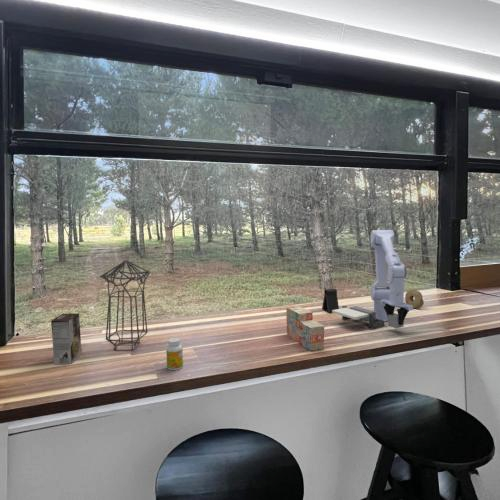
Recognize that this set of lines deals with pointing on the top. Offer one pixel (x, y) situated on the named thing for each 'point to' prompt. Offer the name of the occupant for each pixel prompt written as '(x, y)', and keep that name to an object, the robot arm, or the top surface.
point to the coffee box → (66, 338)
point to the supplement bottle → (174, 354)
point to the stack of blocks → (304, 328)
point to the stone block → (394, 321)
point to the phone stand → (330, 300)
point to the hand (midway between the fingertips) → (395, 323)
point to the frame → (372, 322)
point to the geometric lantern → (122, 265)
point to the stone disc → (418, 298)
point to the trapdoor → (355, 313)
